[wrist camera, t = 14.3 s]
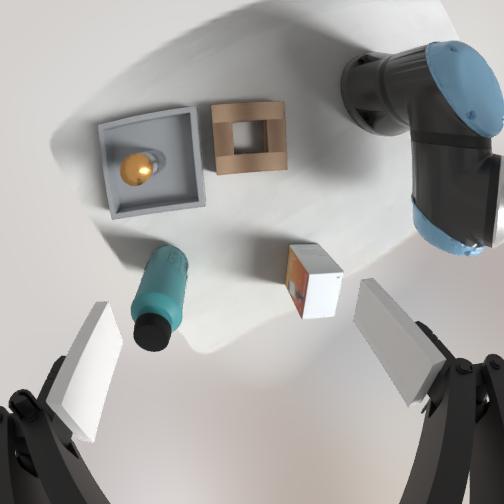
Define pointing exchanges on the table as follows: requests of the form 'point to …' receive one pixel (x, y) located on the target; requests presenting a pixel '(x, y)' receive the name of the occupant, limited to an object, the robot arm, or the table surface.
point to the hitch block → (273, 137)
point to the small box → (313, 281)
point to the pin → (142, 167)
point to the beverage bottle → (160, 298)
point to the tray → (174, 173)
